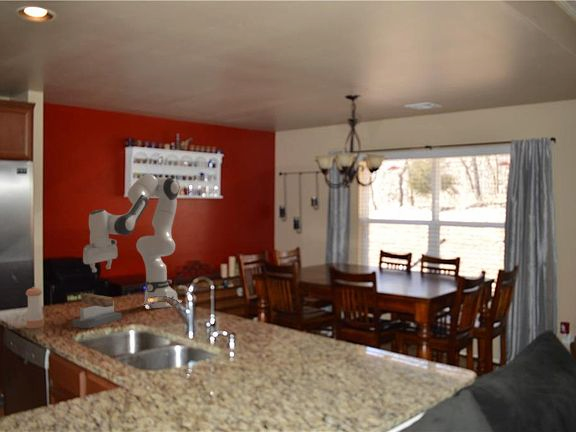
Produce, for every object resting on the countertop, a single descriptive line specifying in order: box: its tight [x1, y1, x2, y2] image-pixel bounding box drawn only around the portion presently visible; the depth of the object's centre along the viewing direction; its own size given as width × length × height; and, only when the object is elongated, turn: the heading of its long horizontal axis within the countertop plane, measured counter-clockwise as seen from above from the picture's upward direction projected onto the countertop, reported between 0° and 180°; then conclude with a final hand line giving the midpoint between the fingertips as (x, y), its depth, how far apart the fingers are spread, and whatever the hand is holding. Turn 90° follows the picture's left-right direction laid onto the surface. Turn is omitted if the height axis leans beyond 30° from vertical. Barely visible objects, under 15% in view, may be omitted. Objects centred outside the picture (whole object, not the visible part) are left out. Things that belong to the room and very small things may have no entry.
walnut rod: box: [81, 293, 114, 307], centre depth 269 cm, size 20×4×4 cm, turn 52°
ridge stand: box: [72, 300, 123, 330], centre depth 269 cm, size 22×10×9 cm, turn 155°
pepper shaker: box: [25, 286, 44, 329], centre depth 263 cm, size 7×7×19 cm
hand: (101, 270), depth 274 cm, fingers open, 8 cm apart
